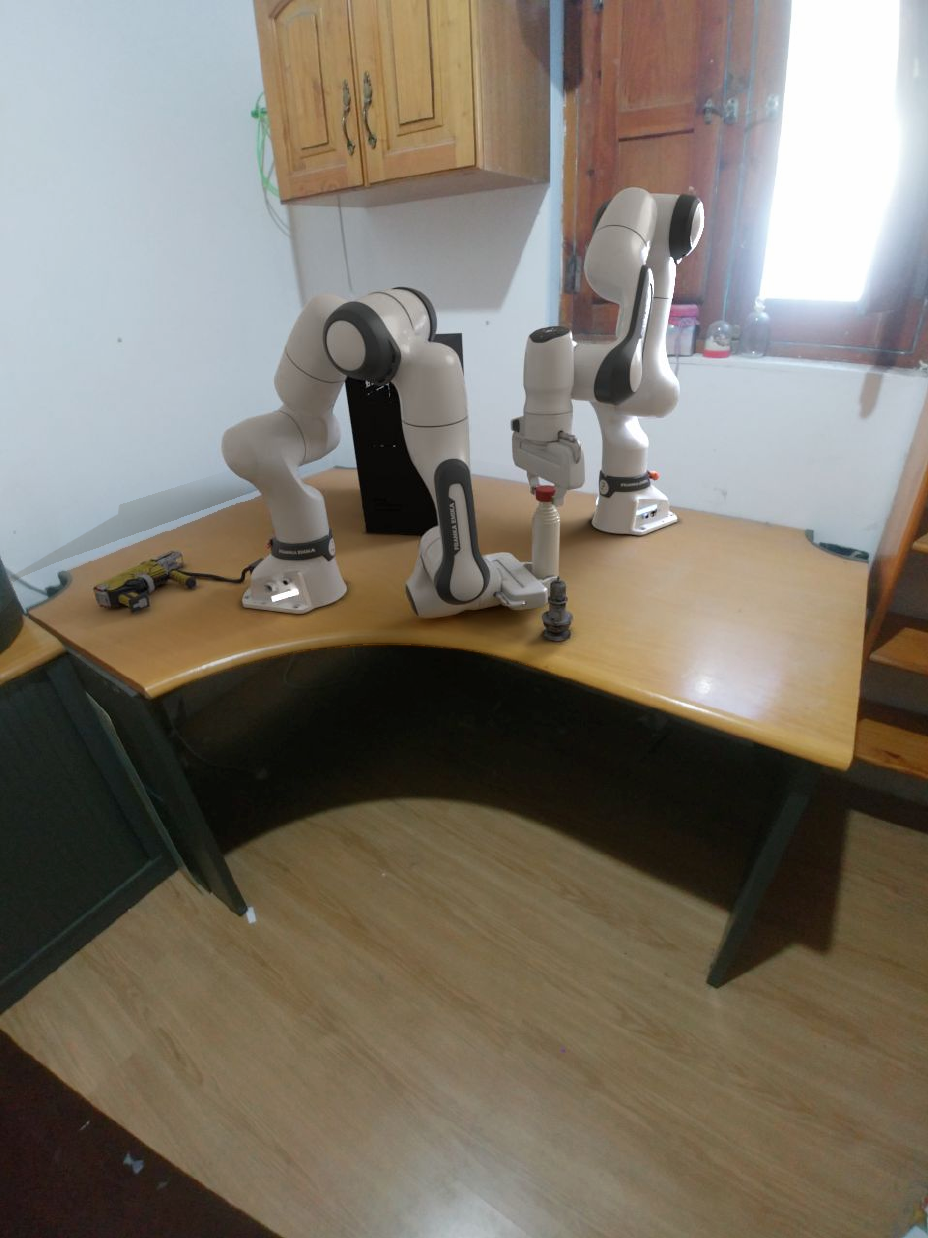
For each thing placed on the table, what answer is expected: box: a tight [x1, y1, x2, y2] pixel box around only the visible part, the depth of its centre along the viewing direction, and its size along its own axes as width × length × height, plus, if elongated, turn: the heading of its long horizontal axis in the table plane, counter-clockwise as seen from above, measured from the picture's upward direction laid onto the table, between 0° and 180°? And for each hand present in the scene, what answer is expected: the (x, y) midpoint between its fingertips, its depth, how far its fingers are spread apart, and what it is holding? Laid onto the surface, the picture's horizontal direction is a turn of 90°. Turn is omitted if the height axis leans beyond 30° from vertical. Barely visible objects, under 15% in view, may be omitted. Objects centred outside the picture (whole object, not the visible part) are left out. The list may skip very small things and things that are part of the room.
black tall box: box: [344, 332, 465, 536], centre depth 165 cm, size 38×20×45 cm, turn 167°
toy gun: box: [92, 549, 197, 614], centre depth 138 cm, size 5×24×15 cm
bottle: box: [531, 501, 561, 603], centre depth 121 cm, size 6×6×23 cm
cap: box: [535, 484, 556, 502], centre depth 116 cm, size 4×4×2 cm
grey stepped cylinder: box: [540, 576, 574, 642], centre depth 110 cm, size 6×6×12 cm
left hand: (548, 572), depth 125 cm, fingers closed on bottle, 5 cm apart
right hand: (546, 499), depth 116 cm, fingers open, 6 cm apart
